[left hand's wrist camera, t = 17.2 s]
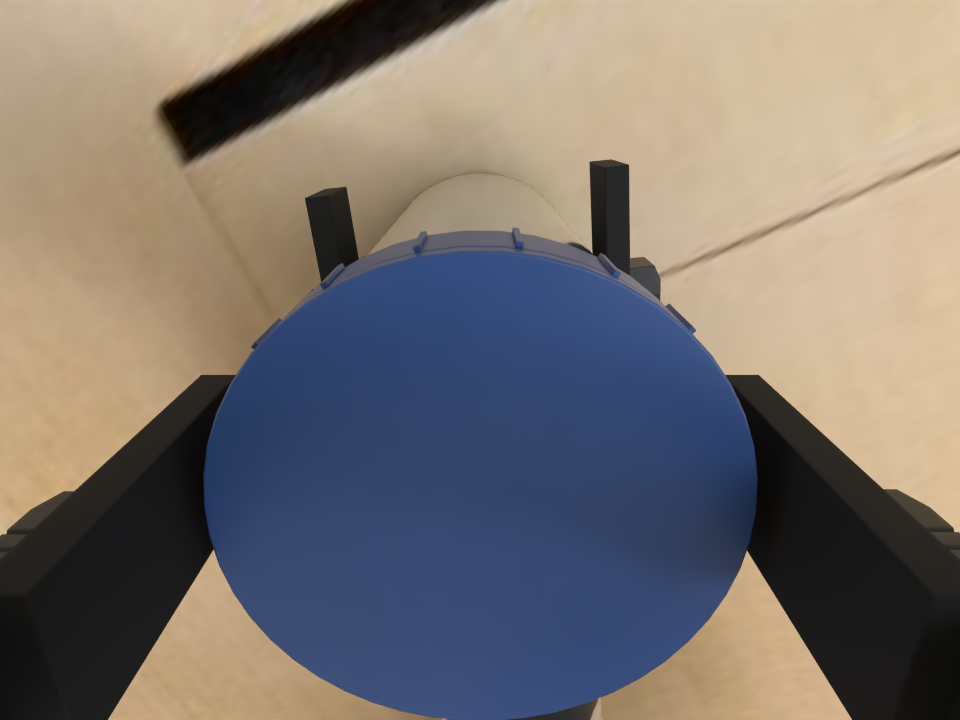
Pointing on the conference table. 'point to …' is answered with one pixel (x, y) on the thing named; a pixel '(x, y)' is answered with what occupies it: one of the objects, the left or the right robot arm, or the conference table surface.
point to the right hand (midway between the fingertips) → (466, 178)
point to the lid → (480, 478)
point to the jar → (480, 211)
